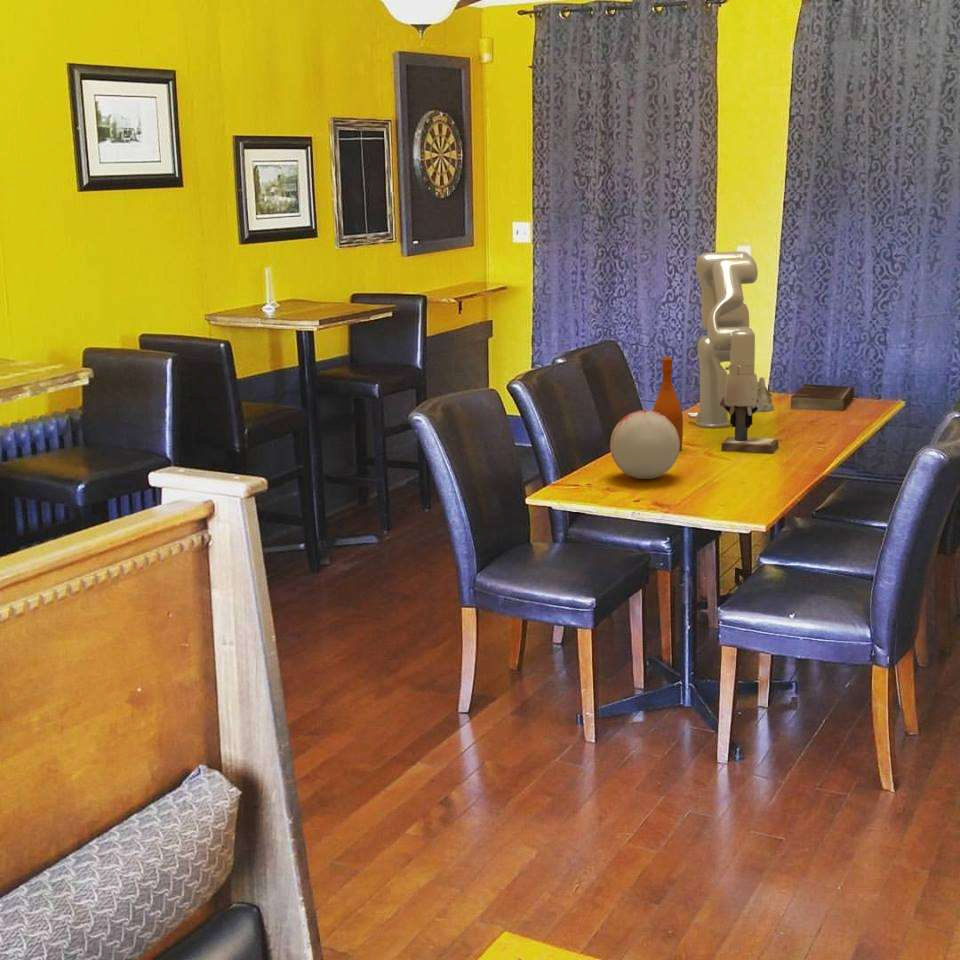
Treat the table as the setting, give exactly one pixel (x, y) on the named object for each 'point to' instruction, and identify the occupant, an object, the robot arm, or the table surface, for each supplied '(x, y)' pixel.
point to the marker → (741, 423)
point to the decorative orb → (644, 444)
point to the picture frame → (750, 445)
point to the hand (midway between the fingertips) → (741, 426)
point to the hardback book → (822, 397)
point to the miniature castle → (764, 397)
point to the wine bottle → (669, 399)
